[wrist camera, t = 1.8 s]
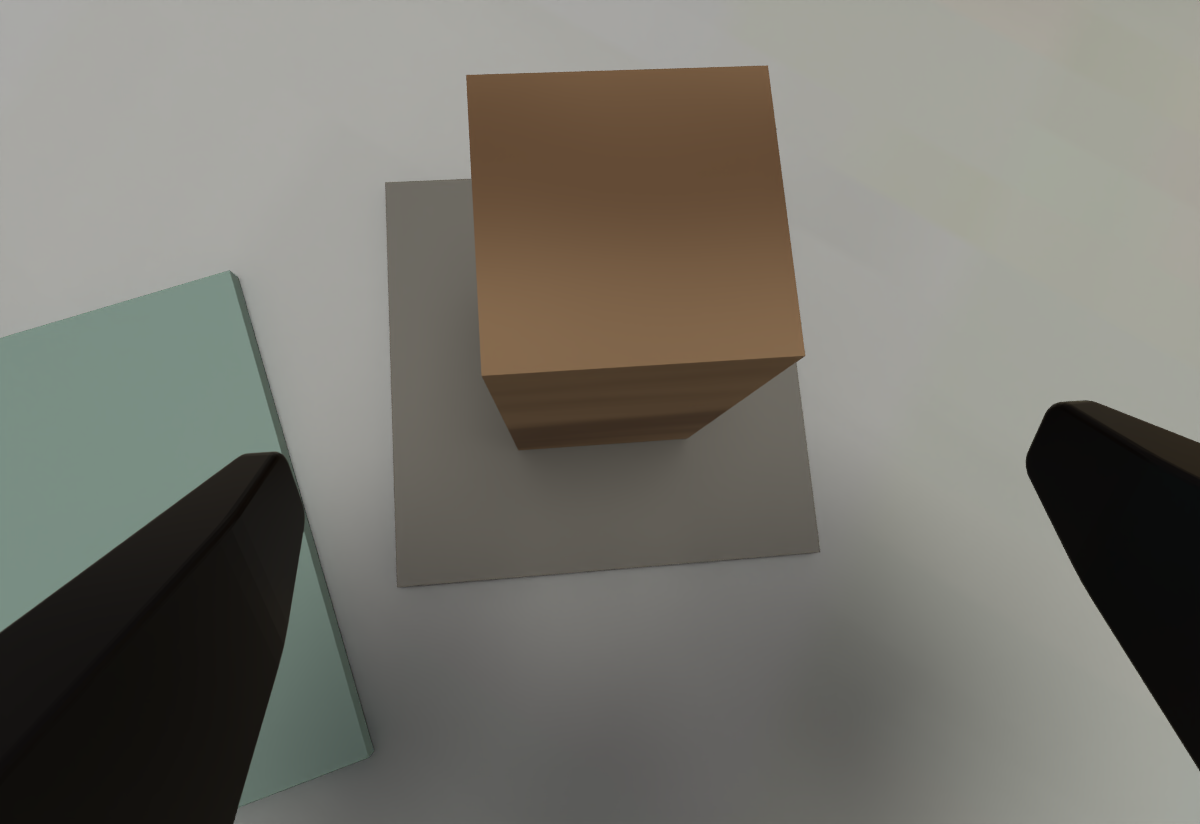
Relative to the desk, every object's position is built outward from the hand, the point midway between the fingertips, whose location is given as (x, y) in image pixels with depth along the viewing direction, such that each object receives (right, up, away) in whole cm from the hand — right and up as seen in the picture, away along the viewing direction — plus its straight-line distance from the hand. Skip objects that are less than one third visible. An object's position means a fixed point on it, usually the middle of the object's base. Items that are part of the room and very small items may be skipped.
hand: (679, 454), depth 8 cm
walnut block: (-1, +2, +11) cm, 11 cm away
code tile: (-1, +2, +11) cm, 11 cm away
